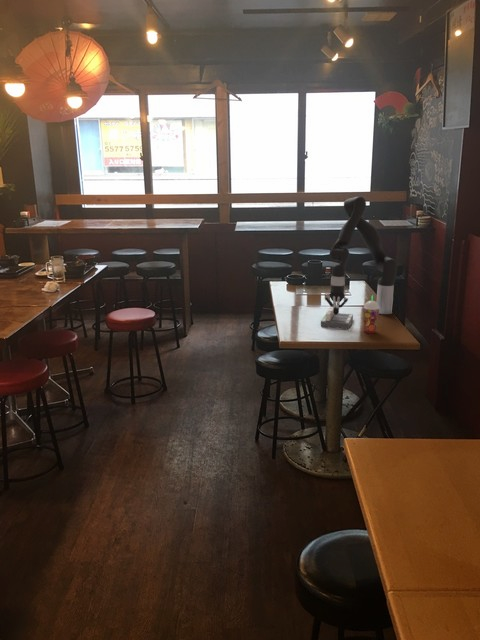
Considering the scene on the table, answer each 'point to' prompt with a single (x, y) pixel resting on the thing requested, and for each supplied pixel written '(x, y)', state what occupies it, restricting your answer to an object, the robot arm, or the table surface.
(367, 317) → the smoothie
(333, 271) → the robot arm
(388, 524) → the table surface
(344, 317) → the breaker panel
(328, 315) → the breaker near
